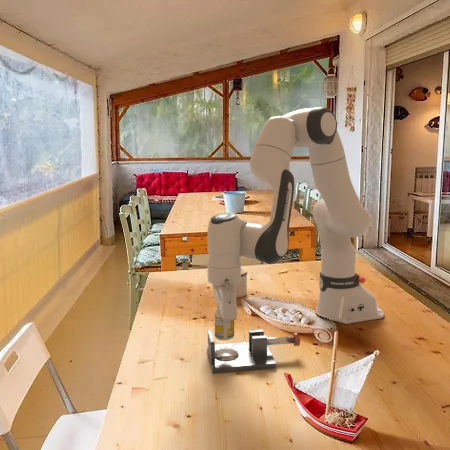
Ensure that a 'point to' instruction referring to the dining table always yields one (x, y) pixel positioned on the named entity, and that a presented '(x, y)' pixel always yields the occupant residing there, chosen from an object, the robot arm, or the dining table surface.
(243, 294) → the teacup with lid
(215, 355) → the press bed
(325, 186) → the robot arm
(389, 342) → the dining table surface
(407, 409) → the dining table surface
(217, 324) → the supplement bottle
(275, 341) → the ram
